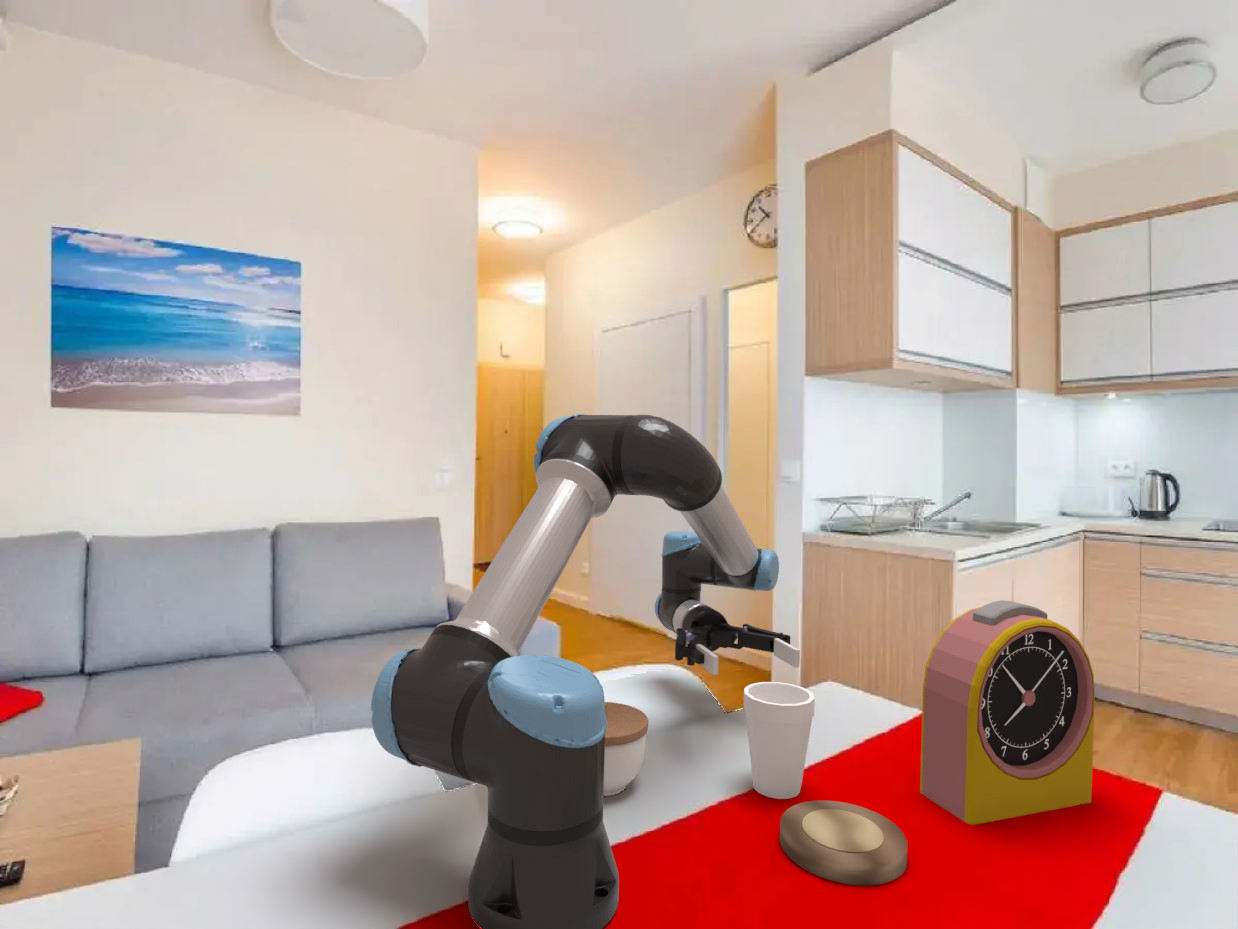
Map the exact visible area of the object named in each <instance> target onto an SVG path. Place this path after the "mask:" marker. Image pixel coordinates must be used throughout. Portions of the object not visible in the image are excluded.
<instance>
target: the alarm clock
mask: <svg viewBox="0 0 1238 929" xmlns="http://www.w3.org/2000/svg"><path fill="white" fill-rule="evenodd" d="M1094 676H1095V674H1094V672H1093V668H1092V664H1091V661H1090V658H1089V655H1088V653H1087V651H1086V649H1085V648H1084V646H1083V644H1082V642H1081V641H1080V639H1079V638H1078V637H1077V636H1076V635H1075V634H1074V633H1073V632H1072V631H1070V629H1069V628H1067V627H1066V626H1063V625H1062V624H1060V623H1058V622H1055V621H1053V620H1051V619H1050V618H1049V619H1048V613H1047V612H1045V611H1044V610H1042V609H1041V608H1038V607H1035V606H1031V605H1028V604H1024V603H1021V602H1017V601H1012V600H1001V599H999V600H997V601H996V600H995V601H992V602H989V603H987V604H984V605H982V606H980V607H975V608H971V609H969V610H967V611H965V612H964V613H962V614H960V615H958V616H957V617H955V618H954V619H953V620H952V621H951V622H950V623H949V624H948V625H947V626H946V627H945V628H944V629H942V631H941V633H940V634H939V636H938V637H937V640H936V641H935V642H934V644H933V646H932V647H931V650H930V653H929V655H928V659H927V661H926V664H925V669H924V677H923V684H922V708H921V711H922V712H921V740H920V742H921V744H920V745H921V746H920V748H921V749H920V750H921V751H920V783H919V785H920V786H919V789H920V790H919V792H920V794H921V795H923V796H924V797H926V798H927V799H929V800H930V801H932V802H933V803H935V804H937V805H938V806H939V807H940V808H943V809H944V810H946V811H947V812H949V813H950V814H952V815H953V816H955V817H956V818H958V819H959V820H961V821H963V823H966V824H969V825H975V826H976V825H980V824H985V823H990V822H995V821H1000V820H1006V819H1012V818H1017V816H1018V817H1022V816H1028V815H1032V814H1039V813H1043V812H1049V811H1053V810H1054V811H1055V810H1059V809H1064V808H1065V809H1066V808H1070V807H1075V806H1076V807H1077V806H1079V805H1080V804H1081V805H1084V804H1085V803H1086V804H1091V803H1092V793H1093V792H1092V791H1093V790H1092V789H1093V788H1092V787H1093V762H1094V761H1093V760H1094V759H1093V758H1094V757H1093V756H1094V755H1093V754H1094V751H1093V750H1094V734H1095V733H1094V731H1095V727H1094V725H1095V701H1096V699H1095V696H1096V695H1095V677H1094ZM1048 810H1049V811H1048Z"/></svg>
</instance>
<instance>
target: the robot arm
mask: <svg viewBox="0 0 1238 929" xmlns="http://www.w3.org/2000/svg"><path fill="white" fill-rule="evenodd" d="M535 449H536V451H537V452H536V453H535V454H534V455H533V467H534V468H533V469H534V473H535V481H536V485H537V487H538V488H537V489H536V490H535V492H534V494H533V496H532V497H531V499H530V500H529V502H528V504H527V505H526V507H525V509H523V511H522V513H521V515H520V516H519V518H518V519H517V521H516V522H515V525H514V526H513V527H512V529H511V530H510V532H509V533H508V536H507V537H506V539H505V541H504V542H503V543H502V545H501V547H500V549H498V551H497V553H496V555H495V556H494V557H493V559H492V561H491V562H490V564H489V566H488V568H487V569H486V570H485V572H484V574H483V575H482V577H481V579H480V580H479V582H478V583H477V585H476V587H475V588H474V589H473V591H472V593H471V595H470V596H469V597H468V599H467V600H466V602H465V604H464V606H463V607H462V609H461V610H460V612H459V613H458V616H456V618H455V620H450V621H444V622H441V623H439V624H437V625H436V626H435V627H434V629H433V631H432V632H431V633H430V635H429V636H428V638H427V640H426V641H425V642H424V645H423V646H422V647H421V648H420V647H417V648H415V647H411V648H408V649H406V650H404V651H399V652H397V653H396V654H395V655H393V656H392V657H391V658H390V659H389V660H388V661H387V662H386V663H385V664H384V667H383V668H382V669H381V671H380V673H379V674H378V677H377V679H376V682H375V685H374V687H373V690H372V697H371V704H370V709H371V712H372V714H371V726H372V730H373V733H374V736H375V738H376V741H378V743H379V745H380V747H382V749H383V750H384V751H386V752H387V753H388V754H390V755H392V756H394V757H396V758H399V759H402V760H405V761H406V762H407V764H409V765H412V766H415V767H421V768H422V767H424V768H428V769H431V770H434V771H436V772H440V773H444V774H447V775H450V776H453V777H456V778H460V779H463V780H466V781H470V782H473V783H477V784H480V785H482V786H485V787H486V788H487V824H486V828H485V831H484V834H483V837H482V840H481V843H480V845H479V849H478V852H477V855H476V857H475V860H474V863H473V866H472V870H471V873H470V876H469V880H468V899H467V900H468V901H467V902H468V903H467V904H468V906H469V907H468V913H469V912H470V913H469V915H470V914H471V916H472V918H473V920H474V921H475V922H476V924H478V926H480V927H481V928H482V929H603V928H605V927H606V925H607V924H609V922H610V921H611V920H612V918H613V917H614V915H615V914H616V911H617V909H618V905H619V900H620V899H619V894H620V887H619V885H620V877H619V870H618V867H617V864H616V860H615V857H614V853H613V850H612V847H611V844H610V840H609V837H608V832H607V830H606V827H605V823H604V797H603V793H604V757H605V732H606V728H607V720H606V715H605V702H606V701H605V692H604V689H603V688H604V687H603V686H602V684H601V682H600V680H599V679H598V677H597V676H596V675H595V673H594V672H592V671H591V670H589V669H588V668H587V667H585V666H583V665H581V664H579V663H576V662H574V661H572V660H568V659H565V658H562V657H558V656H557V657H556V656H553V655H552V656H551V655H543V656H537V655H536V654H522V655H521V654H520V651H521V650H522V648H523V646H524V645H525V642H526V641H527V639H528V637H529V635H530V633H531V631H532V630H533V627H534V626H535V624H536V622H537V620H538V618H539V616H540V615H541V613H542V611H543V608H544V607H545V605H546V604H547V601H549V598H550V596H551V594H552V592H553V590H554V589H555V586H556V584H557V583H558V581H559V579H560V577H561V576H562V573H563V571H564V569H565V568H566V567H567V564H568V563H569V560H570V558H571V557H572V555H573V553H574V551H575V549H576V547H577V546H578V544H579V542H580V540H581V538H582V537H583V534H584V532H585V531H586V530H587V527H588V525H589V523H590V521H591V519H593V518H594V519H595V518H598V517H601V516H603V515H605V514H606V512H607V511H608V509H609V508H610V506H611V504H612V503H613V500H614V499H615V497H616V496H617V495H618V496H619V495H623V496H624V495H626V496H645V497H646V496H648V497H653V498H657V499H660V500H663V501H664V502H665V504H666V505H667V506H668V507H669V508H670V509H672V510H674V511H676V512H680V514H681V515H682V517H683V518H684V519H685V521H686V522H687V523H688V525H689V526H690V527H691V529H692V530H693V531H689V530H687V531H685V530H678V531H669V532H667V533H666V534H664V536H663V543H662V551H661V552H662V554H661V592H660V594H658V596H657V597H656V600H655V603H654V615H655V616H656V618H657V619H658V621H659V622H660V623H661V624H662V626H663V627H664V628H666V629H667V630H668V631H672V632H673V633H674V634H675V644H674V660H676V661H682V660H684V658H686V664H687V665H688V666H695V664H697V665H699V666H701V667H702V668H704V670H707V672H709V673H710V674H711V675H713V676H717V675H718V676H719V655H717V654H716V653H714V651H717V650H718V649H720V648H723V649H728V648H730V649H735V650H742V649H743V648H746V649H752V650H758V651H763V652H768V653H773V656H774V657H776V658H778V659H780V660H781V661H783V662H784V663H786V664H788V665H790V666H791V667H792V668H800V657H801V655H800V653H801V652H800V651H801V650H800V649H799V648H798V647H796V646H794V645H792V644H791V635H789V634H784V633H783V632H776V631H772V630H768V629H765V628H760V627H755V626H752V625H751V624H748V623H744V624H742V627H741V626H735V625H731V624H729V623H728V621H727V619H726V617H725V616H724V615H723V614H722V613H721V612H720V611H718V610H716V609H715V608H712V607H711V606H709V605H708V604H705V603H704V602H702V601H701V591H702V585H709V586H718V587H724V588H733V589H740V590H749V591H753V592H755V591H763V592H764V591H765V592H770V591H772V590H773V589H775V587H776V585H777V582H778V578H779V572H780V563H779V562H780V561H779V557H778V554H777V553H776V552H775V551H774V550H772V549H765V548H764V547H762V548H758V546H756V544H755V542H754V541H753V539H752V537H751V536H750V533H749V532H748V530H747V528H746V527H745V524H744V523H743V520H742V519H741V517H740V516H739V514H738V513H737V511H736V509H735V507H734V505H733V503H732V502H731V500H730V498H729V497H728V495H727V493H726V491H725V489H724V487H723V486H722V485H723V472H722V471H721V468H720V466H719V465H718V463H717V461H716V459H715V458H714V456H713V455H712V453H711V452H710V451H709V450H708V449H707V448H706V447H705V446H704V445H703V443H701V441H699V440H698V439H697V438H696V437H695V436H693V435H692V434H691V433H689V431H687V430H685V429H684V428H682V427H681V426H680V425H678V424H675V423H674V422H672V421H670V420H667V419H665V418H662V417H659V416H655V415H650V414H634V415H633V414H585V413H583V414H581V413H580V414H574V415H573V414H572V415H568V416H560V417H558V418H556V419H554V420H552V421H550V422H549V423H548V424H547V425H546V426H545V427H544V428H543V430H542V431H541V433H540V434H539V436H538V439H537V441H536V444H535ZM736 641H737V642H736ZM735 642H736V643H735ZM519 654H520V655H519ZM471 916H470V917H471Z"/></svg>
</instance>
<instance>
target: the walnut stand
mask: <svg viewBox="0 0 1238 929" xmlns="http://www.w3.org/2000/svg"><path fill="white" fill-rule="evenodd" d="M779 823H780V824H779V826H780V827H779V842H780V843H779V844H780V846H781V848H782V851H783V852H784V853H785V854H786V856H787V857H788V858H789V859H790V860H791V862H793V863H795V864H796V865H797V866H799V868H802V869H803V870H805V871H807V872H809V873H811V874H812V875H815V876H817V877H820V878H822V879H825V880H829V881H830V882H831V881H832V882H835V883H840V884H845V885H852V886H878V885H882V884H887V883H889V882H890V883H891V882H892V881H895V880H896V879H898V878H900V877H901V876H902V875H903V874H904V872H905V871H906V868H907V863H908V840H907V837H906V836H905V834H904V832H903V831H902V830H901V828H899V826H897V825H896V824H895V823H894V822H893V821H891V820H890V819H889V818H887V817H885V816H883V815H882V814H880V813H878V812H875V811H873V810H870V809H869V808H867V807H864V806H860V805H857V804H851V803H848V802H843V801H837V800H811V801H805V802H804V801H803V802H800V803H797V804H794V805H791V807H788V808H787V809H786V810H785V811H783V813H782V815H781V818H780V822H779Z"/></svg>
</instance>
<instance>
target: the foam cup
mask: <svg viewBox="0 0 1238 929" xmlns="http://www.w3.org/2000/svg"><path fill="white" fill-rule="evenodd" d="M815 701H816V700H815V696H814V693H813V692H812V691H811V690H808V689H807V688H805V687H803V686H800V685H799V686H798V685H796V684H792V683H787V682H779V681H760V682H755V683H751V684H748V685H747V686H745V687H744V688H743V711H744V712H745V717H746V727H747V729H746V730H747V736H748V737H747V738H748V748H749V757H750V764H751V766H750V767H751V776H752V783H753V790H755V791H756V792H757V793H759V794H761V795H763V796H765V797H766V798H773V799H777V800H787V799H792V798H795V797H798V795H799V794H800V793H801V788H802V785H803V784H802V783H803V778H804V771H805V764H806V759H807V752H808V746H809V739H810V734H811V729H812V722H813V717H815Z"/></svg>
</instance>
